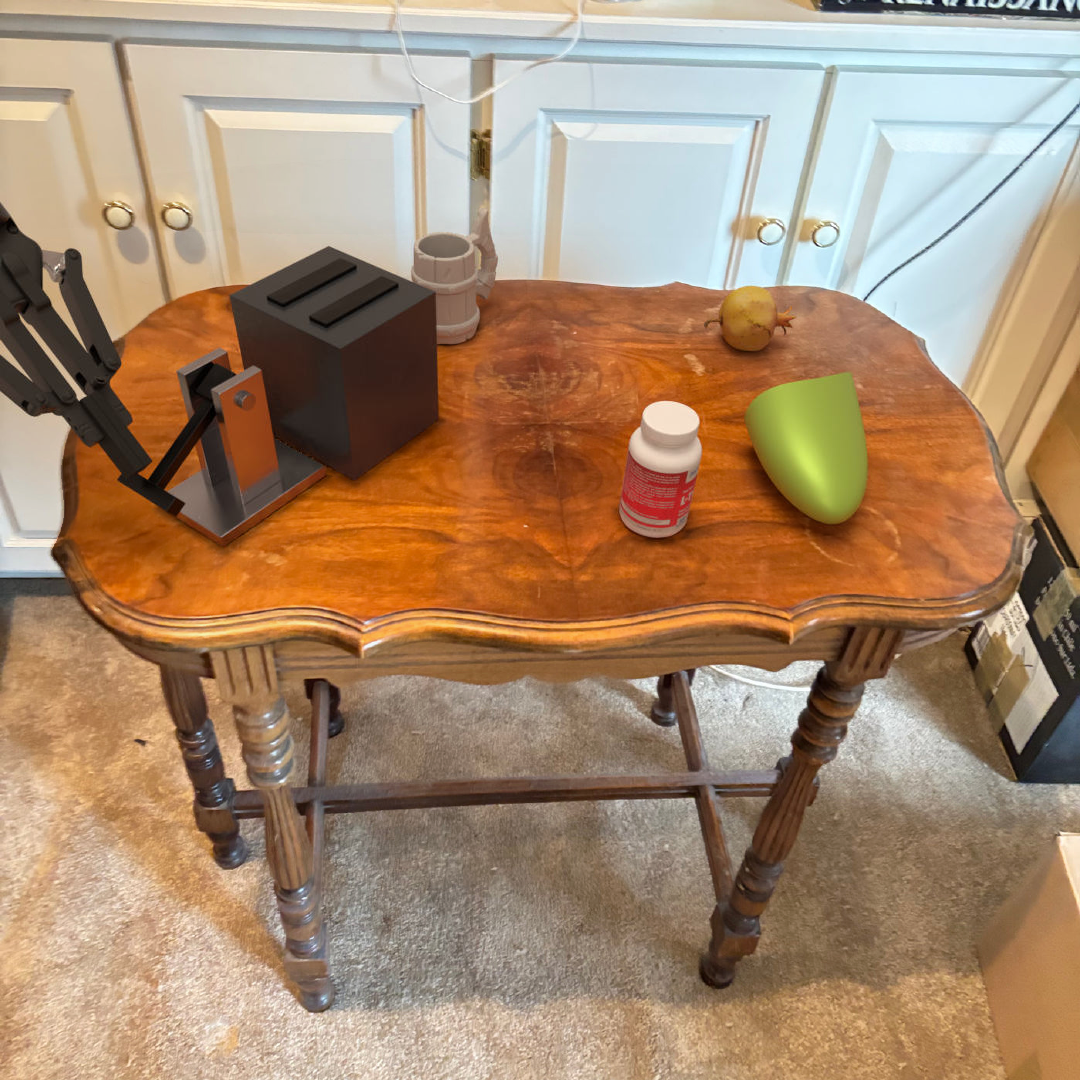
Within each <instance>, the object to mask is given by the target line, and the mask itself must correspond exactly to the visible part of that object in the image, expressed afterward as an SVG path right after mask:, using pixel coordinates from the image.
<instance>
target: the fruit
mask: <svg viewBox="0 0 1080 1080" xmlns="http://www.w3.org/2000/svg"><path fill="white" fill-rule="evenodd" d="M793 307H794V306H793V305H790V307H788V308H787V309H785V311H784V312H778V308H777V304H776V301H775V297H774V296H773V294H772V293H771V292H770V291H769V290H767V289H766V288H763V287H761V286H758V285H744V286H739V287H737V288H735V289H734V290H732V291H731V292H729V293H728V294H727V296H726V297H725V298H724V299H723V301H722V303H721V305H720V307H719V311H718V318H709V319H707V320H706V321H705V322H704V323H703V327H704V328H705V329H708V325H709V324H710V323H718V324H719V326H720V330H721V333H722V336H723V338H724V340H725V342H726V343H727V344H728V345H729V346H731V347H732V348H734V349H737V350H740V351H744V352H757V351H761V350H763V349H764V348H765V347H767V346H768V345H769V344H770V342H771V340H772V339H773V337H774V334H775V330H776V328H777V327H781V328H782V329H783V334H784V336H786V335H787V328H790V329H794V326H793V324H792V323H790V321H792V320H794V319H796V318H797V316H794V315H792V314H789V313H790V312H791V311H792V309H793Z"/></svg>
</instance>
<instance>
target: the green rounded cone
mask: <svg viewBox="0 0 1080 1080" xmlns="http://www.w3.org/2000/svg"><path fill="white" fill-rule="evenodd" d="M855 385H856V384H855V381H854V377H853V373H852V372H851V371H845V372H840V373H835V374H831V375H827V376H820V377H816V378H810V379H804V380H797V381H796V380H795V381H791V382H786V383H783V384H779V385H776V386H773V387H771V388H768V389H767V390H764V391H762V393H760V394H759V395H757V396H756V397H755V398H754V399H753V400H752V401H751V403H749V404H748V406H747V408H746V410H745V412H744V416H743V422H744V425H745V428H746V432H747V434H748V436H749V437H748V438H749V439H750V442H751V444H752V447H753V449H754V452H755V454H756V456H757V458H758V460H759V462H760V464H761V466H762V468H763V469H764V471H765V473H766V474H767V476H768V478H769V479H770V481H771V482H772V484H773V485H774V487H776V490H778V491H779V492H780V493H781V495H782V496H783V497H784V498H785V499H786V500H787V501H788V502H789V503H790V504H791V505H792V506H794V507H795V508H796V509H797V510H798V511H799V512H801V513H802V514H804V515H805V516H807V517H809V518H811V519H812V520H814V521H816V522H819V523H823V524H827V525H837V524H841V523H843V522H845V521H847V520H849V519H850V518H851V517H852V516H853V515H854V514H855V513H857V510H858V509H859V508H860V505H861V503H862V502H863V499H864V496H865V493H866V489H867V485H868V476H869V475H868V474H869V458H868V446H867V440H866V439H867V438H866V433H865V426H864V421H863V416H862V412H861V407H860V402H859V398H858V394H857V389H856V386H855Z"/></svg>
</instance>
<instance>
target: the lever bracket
mask: <svg viewBox="0 0 1080 1080" xmlns="http://www.w3.org/2000/svg"><path fill="white" fill-rule="evenodd" d="M228 353H229V352H228V351H227V350H225V349H223V348H221V347H218V348H216V349H214V350H212V351H210V352H209V353H206V354H204V355H203V356H201V357H199V358H197V359H195V360H193V361H191V362H189V363H188V364H186V365H184V366H182V367H180V368H179V369H176V375H177V379H178V384H179V387H180V391H181V395H182V399H183V403H184V407H185V411H186V415H187V420H188V421H189V420H190V419H191V417H192V416H193V414H194V413H195V411H196V410H197V409H198V407H199V406H200V404H201V403H202V401H203V400H204V399H205V398H204V397H203V396H201V395H200V394H199V393H198V392H197V391H196V390H197V388H198V387H199V386H200V384H201V383H202V381H203V380H204V378H205V377H206V376H207V374H208V373H209V371H210V370H211V369H212V367H213V366H214V364H215V363H217V364H219V365H221V366H223V367H225V368H227V369H229V370H230V371H232V368H231V363H230V359H229V354H228ZM211 393H212V397H213V402H214V406H215V411H216V416H215V418H214V419H213V420H212V422H211V423H210V425H209V426H208V428H207V429H206V431H205V432H204V433H203V435H202V436H201V438H200V439H199V441H198V442H197V443H196V445H195V446H194V448H195V451H196V454H197V458H198V462H199V466H200V470H199V471H197V472H196V473H194V474H193V475H191V476H189V477H188V478H186V479H185V480H183V481H181V482H180V483H178V484H177V485H175V486H173V487H172V488H170V489H168V490H166V491H167V492H169V493H170V494H172V495H173V496H175V497H177V498H178V499H180V500H182V501H183V502H185V505H184V507H183V508H182V510H181V511H180V513H179V514H178V515H177V517H176V518H177V519H178V520H180V521H181V522H183V523H184V524H186V525H188V526H189V527H190V528H192V529H194V530H195V531H196V532H199V533H200V534H201V535H203V536H205V537H206V538H208V539H210V540H211V541H212V542H215V543H216V544H217V545H218V546H221V547H222V548H225V547H226V546H227V545H229V544H230V543H232V542H233V541H234V540H236V539H237V538H239V537H240V536H242V535H243V534H245V533H246V532H248V531H249V530H250V529H252V528H253V527H255V526H257V524H259V523H260V522H262V521H263V520H265V519H266V518H267V517H269V516H270V515H271V514H273V513H275V512H276V511H277V510H278V509H280V508H282V507H283V506H284V505H286V504H287V503H289V502H290V501H292V500H293V499H294V498H296V497H298V496H299V495H300V494H301V493H303V492H304V491H305V490H307V489H308V488H310V487H311V486H313V485H314V484H316V483H317V482H319V481H320V480H321V479H323V478H324V477H326V475H327V474H326V467H325V464H323V463H322V462H320V461H318V460H316V459H314V458H312V457H311V456H309V455H307V454H305V453H303V452H302V451H300V450H298V449H296V448H294V447H293V446H291V445H289V444H287V443H285V442H283V441H282V440H280V439H278V438H276V437H274V436H273V430H272V425H271V419H270V414H269V408H268V402H267V397H266V391H265V385H264V380H263V374H262V370H261V369H260V368H258V367H256V366H251V367H250V368H248V369H246V370H244V369H243V371H240V372H239V373H236V375H235V376H234V377H232V378H230V379H228V380H227V381H225V382H223V383H221V384H219V385H218V386H216V387H214V388H212V389H211Z"/></svg>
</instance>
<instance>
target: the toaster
mask: <svg viewBox="0 0 1080 1080" xmlns="http://www.w3.org/2000/svg"><path fill="white" fill-rule="evenodd" d="M229 300H230V305H231V310H232V314H233V320H234V321H233V322H234V327H235V330H236V331H235V332H236V336H237V341H238V346H239V351H240V357H241V363H242V368H243V371H244V370H246V369H248V368H250V367H251V366H256V367H258V368H260V369H261V370H262V374H263V380H264V385H265V391H266V397H267V402H268V408H269V414H270V419H271V425H272V430H273V436H274V438H275V439H277V440H279V441H281V442H283V443H284V444H286V445H288V446H290V447H292V448H293V449H295V450H297V451H299V452H301V453H302V454H304V455H306V456H308V457H310V458H311V459H313V460H315V461H317V462H319V463H321V464H322V465H324V466H327V467H328V468H331V469H333V470H334V471H336V472H338V473H340V474H341V475H343V476H345V477H347V478H348V479H351V480H352V481H354V482H355V481H356V480H358V479H359V478H360V477H362V476H363V475H364V474H366V473H367V472H368V471H370V470H371V469H373V468H374V467H376V466H377V465H378V464H380V463H381V462H382V461H384V460H385V459H386V458H388V457H389V456H391V455H392V454H393V453H395V452H396V451H397V450H399V449H400V448H402V447H403V446H404V445H405V444H407V443H409V442H410V441H411V440H412V439H414V438H415V437H416V436H419V434H421V433H423V431H425V430H426V429H428V428H429V427H431V426H432V425H433V424H435V423H436V422H437V421H439V420H440V414H439V413H440V412H439V375H438V374H439V371H438V344H437V324H436V292H435V291H433V290H430V289H428V288H426V287H423V286H421V285H419V284H416V283H414V282H413V281H412V280H409V279H407V278H404V277H402V276H399V275H398V274H395V273H392V272H391V271H388V270H386V269H384V268H382V267H379V266H376V265H374V264H372V263H370V262H368V261H365V260H362V259H360V258H358V257H356V256H353V255H351V254H349V253H346V252H345V251H341V250H340V249H337V248H334V247H332V246H330V245H328V246H326V247H323V248H321V249H319V250H317V251H315V252H313V253H311V254H309V255H307V256H305V257H303V258H301V259H299V260H298V261H296V262H293V263H291V264H289V265H287V266H286V267H285V266H284V267H283V268H282V269H279V270H277V271H275V272H273V273H271V274H269V275H267V276H265V277H262V278H261V279H259V280H257V281H255V282H252V283H251V284H249V285H247V286H245V287H243V288H241V289H238V290H237V291H235V292H233V293H230V294H229Z"/></svg>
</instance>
